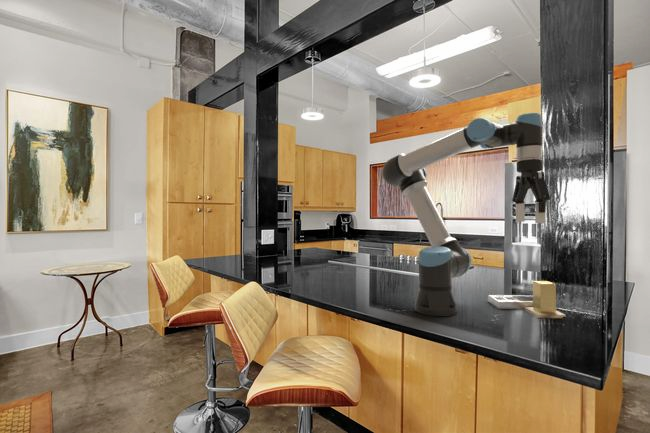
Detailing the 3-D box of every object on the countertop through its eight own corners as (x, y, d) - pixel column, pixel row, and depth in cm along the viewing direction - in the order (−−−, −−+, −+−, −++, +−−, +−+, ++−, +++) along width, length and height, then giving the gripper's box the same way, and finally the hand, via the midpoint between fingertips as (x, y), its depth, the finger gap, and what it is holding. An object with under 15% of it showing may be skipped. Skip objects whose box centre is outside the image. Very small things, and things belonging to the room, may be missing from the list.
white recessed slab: (498, 309, 126) (498, 301, 126) (488, 302, 136) (488, 294, 136) (549, 310, 124) (549, 301, 124) (535, 302, 134) (535, 295, 134)
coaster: (537, 319, 114) (537, 314, 114) (524, 311, 123) (524, 307, 123) (565, 319, 114) (565, 315, 114) (550, 311, 123) (550, 307, 123)
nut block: (540, 313, 116) (540, 284, 116) (533, 308, 121) (532, 281, 121) (556, 313, 116) (555, 284, 116) (547, 308, 121) (547, 281, 121)
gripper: (562, 153, 103) (563, 223, 103) (523, 164, 127) (523, 221, 128) (536, 154, 103) (537, 223, 104) (502, 165, 128) (502, 221, 128)
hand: (529, 222), depth 116 cm, fingers open, 13 cm apart
